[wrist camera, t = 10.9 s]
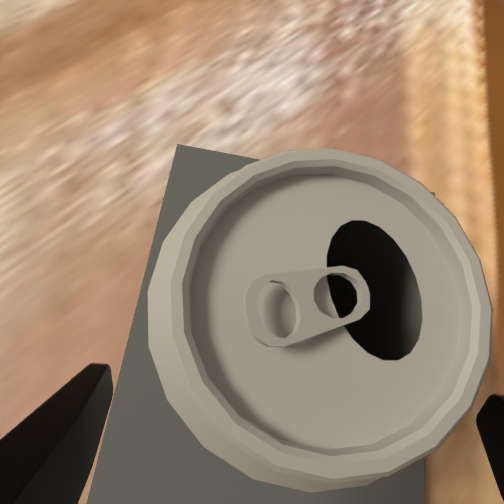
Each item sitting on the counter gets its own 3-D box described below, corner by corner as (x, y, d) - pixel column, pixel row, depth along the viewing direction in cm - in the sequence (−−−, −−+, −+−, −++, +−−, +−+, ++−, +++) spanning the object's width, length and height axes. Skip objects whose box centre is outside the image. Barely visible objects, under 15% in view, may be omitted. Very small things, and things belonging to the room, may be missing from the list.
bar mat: (408, 656, 16) (417, 673, 15) (66, 604, 15) (57, 618, 15) (427, 198, 21) (434, 192, 21) (179, 151, 21) (177, 144, 20)
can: (357, 384, 18) (609, 456, 6) (207, 427, 17) (170, 609, 5) (314, 242, 19) (447, 87, 8) (176, 273, 18) (95, 148, 7)
